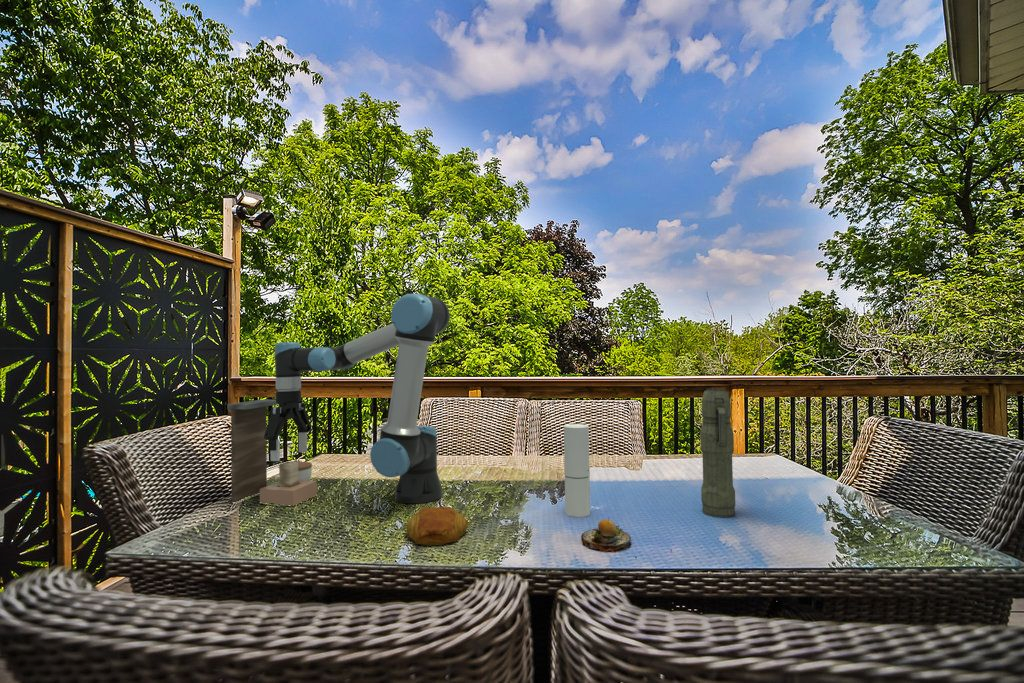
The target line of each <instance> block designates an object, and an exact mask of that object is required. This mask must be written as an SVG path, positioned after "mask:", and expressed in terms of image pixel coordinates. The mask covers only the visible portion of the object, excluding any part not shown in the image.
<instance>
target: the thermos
mask: <svg viewBox="0 0 1024 683" xmlns="http://www.w3.org/2000/svg"><path fill="white" fill-rule="evenodd" d="M731 411H732V410H731V398H730V395H729V392H728V391H727V390H725V389H724V388H723V389H722V388H707V389H706V390H704V392H703V394H702V398H701V416H702V422H701V424H702V425H701V428H700V432H699V434H700V435H699V437H700V450H701V453H702V485H701V487H700V492H701V493H700V495H701V496H700V497H701V503H702V510H701V511H702V513H703V514H704V515H706V516H710V517H715V518H732V517H734V516H735V515H736V511H735V510H736V508H735V507H736V489H735V487H734V484H733V483H734V482H733V481H734V480H733V475H734V472H733V453H734V451H735V446H734V445H735V444H734V443H735V441H734V431H733V428H732V422H731V418H732V417H731V414H732V412H731Z"/></svg>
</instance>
